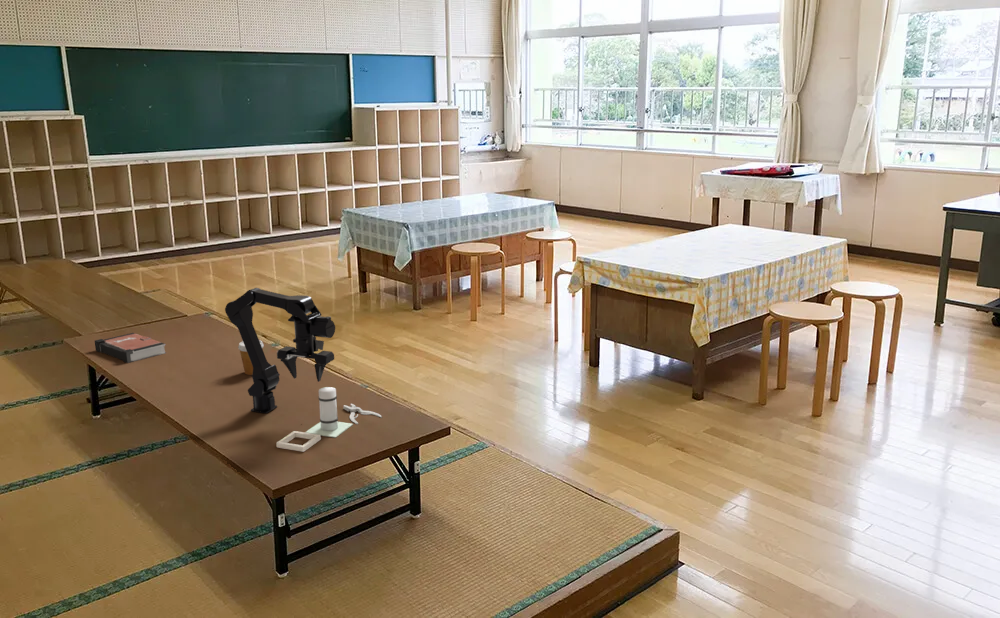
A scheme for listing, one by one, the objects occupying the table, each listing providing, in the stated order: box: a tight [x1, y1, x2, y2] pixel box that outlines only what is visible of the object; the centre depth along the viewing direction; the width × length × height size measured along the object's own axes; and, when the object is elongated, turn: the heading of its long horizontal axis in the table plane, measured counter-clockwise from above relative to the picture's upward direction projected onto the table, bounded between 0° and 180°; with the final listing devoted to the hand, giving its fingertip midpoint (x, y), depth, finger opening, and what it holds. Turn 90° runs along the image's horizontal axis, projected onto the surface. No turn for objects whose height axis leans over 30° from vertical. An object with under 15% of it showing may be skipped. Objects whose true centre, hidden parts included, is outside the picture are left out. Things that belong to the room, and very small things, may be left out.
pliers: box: [343, 403, 383, 425], centre depth 274 cm, size 10×2×15 cm
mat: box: [305, 421, 354, 439], centre depth 262 cm, size 11×11×1 cm
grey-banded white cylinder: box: [318, 386, 339, 431], centre depth 260 cm, size 6×6×13 cm
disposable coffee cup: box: [237, 339, 264, 376], centre depth 313 cm, size 10×10×12 cm
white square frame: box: [276, 430, 322, 453], centre depth 251 cm, size 10×10×2 cm
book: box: [94, 332, 167, 364], centre depth 340 cm, size 26×18×5 cm
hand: (307, 379), depth 269 cm, fingers open, 9 cm apart
